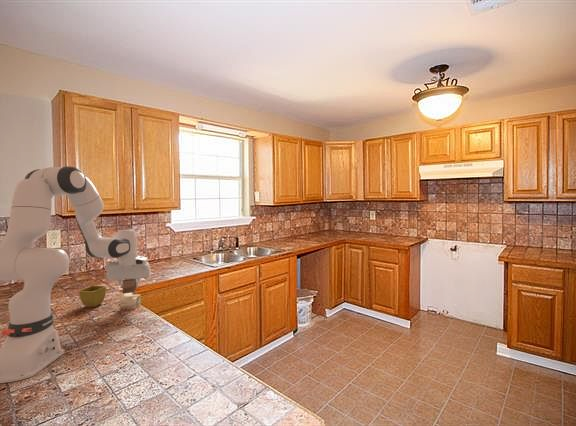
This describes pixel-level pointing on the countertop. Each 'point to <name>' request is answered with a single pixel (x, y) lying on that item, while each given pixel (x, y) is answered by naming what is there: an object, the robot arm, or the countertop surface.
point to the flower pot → (92, 295)
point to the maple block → (130, 301)
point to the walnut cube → (129, 286)
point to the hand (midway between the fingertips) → (129, 287)
